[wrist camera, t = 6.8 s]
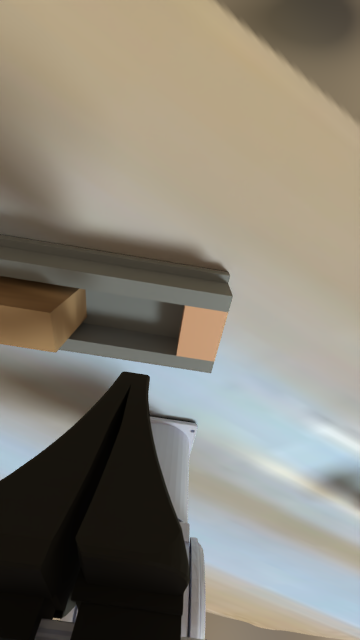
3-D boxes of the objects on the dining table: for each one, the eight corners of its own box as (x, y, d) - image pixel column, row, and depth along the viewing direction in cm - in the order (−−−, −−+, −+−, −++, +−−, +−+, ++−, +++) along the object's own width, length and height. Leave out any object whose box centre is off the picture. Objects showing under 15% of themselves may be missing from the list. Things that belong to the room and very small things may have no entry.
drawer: (86, 316, 20) (55, 352, 15) (-8, 301, 19) (-67, 333, 15) (85, 284, 18) (50, 312, 14) (-17, 267, 18) (-85, 291, 14)
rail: (207, 352, 22) (209, 378, 19) (-25, 316, 21) (-62, 336, 18) (228, 271, 18) (235, 288, 15) (-55, 225, 18) (-108, 232, 15)
